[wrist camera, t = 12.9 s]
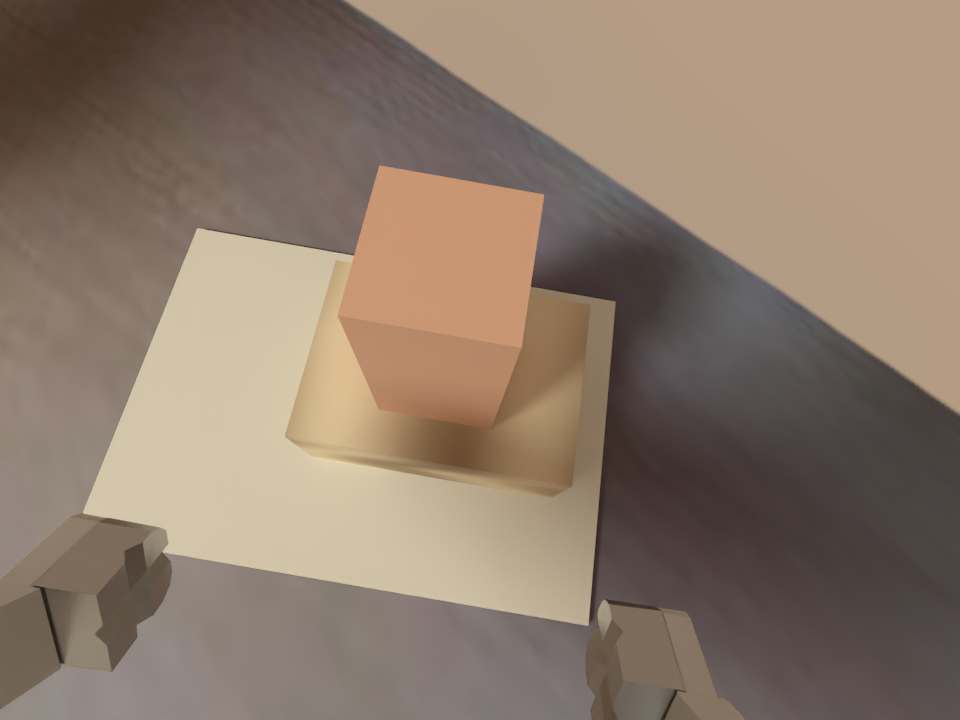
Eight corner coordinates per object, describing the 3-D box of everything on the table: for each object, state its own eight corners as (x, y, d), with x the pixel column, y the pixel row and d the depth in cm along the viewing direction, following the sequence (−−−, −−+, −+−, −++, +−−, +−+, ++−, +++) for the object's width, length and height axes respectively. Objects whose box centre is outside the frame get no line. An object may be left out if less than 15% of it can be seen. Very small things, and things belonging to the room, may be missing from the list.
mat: (78, 536, 21) (73, 536, 21) (200, 231, 26) (197, 228, 26) (586, 624, 21) (588, 625, 21) (613, 304, 26) (615, 301, 26)
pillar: (379, 409, 19) (337, 315, 12) (402, 308, 21) (379, 165, 13) (491, 429, 19) (521, 347, 12) (507, 326, 21) (544, 194, 13)
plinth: (311, 456, 22) (284, 436, 19) (352, 304, 25) (336, 260, 21) (550, 498, 22) (572, 486, 19) (568, 342, 25) (590, 304, 21)
